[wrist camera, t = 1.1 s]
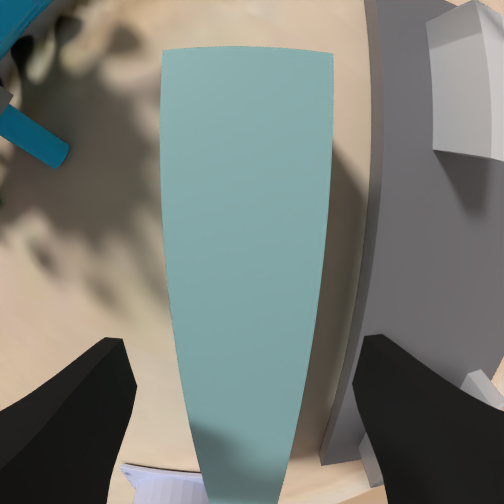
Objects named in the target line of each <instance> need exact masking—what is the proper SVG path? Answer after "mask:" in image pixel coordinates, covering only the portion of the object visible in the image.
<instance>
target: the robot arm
mask: <svg viewBox="0 0 504 504" xmlns="http://www.w3.org/2000/svg"><path fill="white" fill-rule="evenodd" d="M352 387H353V391H354V396H355V400H356V404H357V408H358V411H359V414H360V417H361V419H362V422H363V425H364V427H365V430H366V433H367V435H368V438H369V440H370V443H371V445H372V448H373V451H374V453H375V456H376V459H377V461H378V464H379V467H380V470H381V473H382V477H383V481H384V486H385V490H386V495H387V500H388V504H504V411H501V410H499V409H497V408H495V407H492V406H490V405H488V404H486V403H484V402H483V401H481V400H479V399H477V398H475V397H473V396H471V395H469V394H468V393H466V392H464V391H463V390H461V389H459V388H458V387H456V386H455V385H453V384H452V383H450V382H449V381H447V380H445V379H444V378H443V377H441V376H440V375H438V374H437V373H435V372H434V371H432V370H431V369H430V368H428V367H427V366H426V365H424V364H423V363H422V362H420V361H419V360H417V359H416V358H415V357H413V356H412V355H411V354H409V353H408V352H407V351H405V350H404V349H403V348H401V347H400V346H399V345H397V344H396V343H395V342H393V341H392V340H391V339H389V338H388V337H386V336H385V335H383V334H377V335H367V336H364V339H363V343H362V347H361V351H360V355H359V359H358V363H357V367H356V371H355V374H354V378H353V381H352ZM136 390H137V384H136V381H135V378H134V375H133V372H132V369H131V366H130V363H129V359H128V356H127V353H126V349H125V346H124V342H123V339H120V338H108V337H105V338H103V339H102V340H100V341H99V342H98V343H96V344H95V345H94V346H92V347H91V348H90V349H88V350H87V351H86V352H85V353H83V354H82V355H81V356H79V357H78V358H77V359H76V360H74V361H73V362H72V363H71V364H69V365H68V366H67V367H65V368H64V369H63V370H62V371H60V372H59V373H58V374H56V375H55V376H54V377H52V378H51V379H50V380H48V381H47V382H45V383H44V384H43V385H41V386H40V387H38V388H37V389H36V390H34V391H33V392H32V393H30V394H28V395H27V396H25V397H24V398H22V399H21V400H19V401H17V402H16V403H14V404H12V405H10V406H9V407H7V408H5V409H3V410H1V411H0V504H107V497H108V491H109V485H110V479H111V475H112V472H113V468H114V465H115V462H116V459H117V456H118V453H119V450H120V447H121V444H122V441H123V438H124V435H125V432H126V429H127V426H128V423H129V420H130V417H131V414H132V410H133V405H134V401H135V395H136ZM120 470H121V471H122V472H123V474H124V475H125V477H126V478H127V479H128V481H129V482H130V483H131V485H132V486H133V487H134V489H135V495H134V499H133V504H209V500H208V497H207V493H206V490H205V486H204V482H203V479H202V475H201V473H187V472H177V471H168V470H160V469H152V468H146V467H139V466H134V465H128V464H121V466H120Z"/></svg>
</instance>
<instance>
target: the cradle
mask: <svg viewBox="0 0 504 504" xmlns="http://www.w3.org/2000/svg"><path fill="white" fill-rule="evenodd" d="M364 4H365V12H366V21H367V31H368V42H369V56H370V74H371V163H370V182H369V197H368V209H367V220H366V230H365V240H364V248H363V256H362V264H361V271H360V278H359V285H358V291H357V297H356V303H355V309H354V315H353V320H352V325H351V331H350V336H349V341H348V345H347V350H346V355H345V359H344V364H343V368H342V372H341V376H340V381H339V385H338V389H337V393H336V396H335V400H334V404H333V408H332V411H331V415H330V418H329V422H328V425H327V429H326V432H325V435H324V439H323V442H322V445H321V448H320V451H319V457H320V462H321V466H324V465H330V464H337V463H343V462H348V461H354V460H359V459H362V461H363V464H364V468H365V471H366V474H367V477H368V480H369V484H370V487H371V488H373V487H377V486H381V485H384V481H383V477H382V473H381V470H380V467H379V464H378V461H377V459H376V456H375V453H374V451H373V448H372V445H371V443H370V440H369V438H368V435H367V433H366V430H365V427H364V425H363V422H362V419H361V417H360V414H359V411H358V408H357V404H356V400H355V396H354V391H353V387H352V381H353V378H354V374H355V371H356V367H357V363H358V359H359V355H360V351H361V347H362V343H363V339H364V336H367V335H377V334H383V335H385V336H386V337H388V338H389V339H391V340H392V341H393V342H395V343H396V344H397V345H399V346H400V347H401V348H403V349H404V350H405V351H407V352H408V353H409V354H411V355H412V356H413V357H415V358H416V359H417V360H419V361H420V362H422V363H423V364H424V365H426V366H427V367H428V368H430V369H431V370H432V371H434V372H435V373H437V374H438V375H440V376H441V377H443V378H444V379H445V380H447V381H449V382H450V383H452V384H453V385H455V386H456V387H458V388H459V389H461V390H463V391H464V392H466V393H468V394H469V395H471V396H473V397H475V398H477V399H479V400H481V401H483V402H484V403H486V404H488V405H490V406H492V407H495V408H497V409H499V410H501V409H502V408H503V406H504V397H503V396H502V395H501V394H500V392H499V391H498V390H497V388H496V387H495V386H494V385H493V383H492V382H491V380H492V378H493V376H494V374H495V372H496V370H497V368H498V367H499V365H500V363H501V360H502V358H503V356H504V16H502V15H501V14H499V13H498V12H496V11H494V10H493V9H491V8H490V7H488V6H486V5H485V4H483V3H481V2H479V1H478V0H471V1H469V2H467V3H464V4H462V5H460V6H456V5H454V4H452V3H449V2H447V1H445V0H364Z"/></svg>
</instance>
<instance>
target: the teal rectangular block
mask: <svg viewBox="0 0 504 504" xmlns="http://www.w3.org/2000/svg"><path fill="white" fill-rule="evenodd" d="M333 94H334V71H333V54H332V53H325V52H317V51H309V50H299V49H288V48H274V47H248V46H223V47H198V48H184V49H172V50H163V56H162V72H161V95H160V183H161V207H162V225H163V239H164V252H165V264H166V274H167V284H168V294H169V302H170V311H171V318H172V326H173V333H174V340H175V347H176V354H177V360H178V366H179V372H180V378H181V383H182V389H183V394H184V400H185V405H186V410H187V415H188V420H189V424H190V429H191V433H192V438H193V442H194V447H195V451H196V455H197V459H198V463H199V467H200V471H201V475H202V479H203V482H204V486H205V490H206V493H207V497H208V500H209V504H277V503H278V499H279V496H280V492H281V488H282V485H283V481H284V477H285V473H286V469H287V465H288V461H289V457H290V453H291V448H292V444H293V440H294V435H295V431H296V426H297V422H298V417H299V412H300V407H301V402H302V397H303V392H304V387H305V381H306V376H307V370H308V365H309V359H310V353H311V347H312V341H313V334H314V328H315V321H316V314H317V307H318V300H319V292H320V284H321V276H322V268H323V259H324V250H325V240H326V229H327V218H328V206H329V193H330V178H331V160H332V137H333Z"/></svg>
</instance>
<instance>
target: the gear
mask: <svg viewBox="0 0 504 504" xmlns="http://www.w3.org/2000/svg"><path fill="white" fill-rule="evenodd" d="M52 1H53V0H0V60H1V59H2V58H3V57H4V56H5V54H6V53H7V52H8V51H9V50H10V48H11V47H12V46H13V45H14V44H15V42H16V41H17V40H18V39H19V37H20V36H21V35H22V34H23V33H24V30H25V29H26V28H27V27H28V26H29V25H30V23H31V22H32V21H33V20H34V19H35V18H36V17H37V16H38V15H39V14H40V13H41V12H42V11H43V10H44V9H45V8H46V7H47V6H48V5H49V4H50V3H51V2H52ZM12 97H13V94H11V93H10V92H8V91H7V90H6V89H4V88H3V87H1V86H0V136H2V137H3V138H5V139H7V140H8V141H10V142H11V143H13V144H15V145H16V146H18V147H19V148H21V149H23V150H24V151H26V152H27V153H29V154H31V155H32V156H34V157H36V158H37V159H39V160H40V161H42V162H44V163H45V164H47V165H49V166H50V167H52V168H54V169H56V168H58V167H59V166H60V165H61V163H62V162H63V161H64V159H65V157H66V155H67V153H68V151H69V145H68V144H67V143H65V142H64V141H62V140H61V139H59V138H58V137H56V136H55V135H54V134H52V133H51V132H49V131H48V130H46V129H45V128H43V127H42V126H40V125H39V124H38V123H36V122H35V121H33V120H32V119H30V118H29V117H27V116H26V115H24V114H23V113H22V112H20V111H19V110H17V109H16V108H14V107H13V106H11V105H10V104H9V102H10V100H11V99H12ZM0 202H1V201H0Z"/></svg>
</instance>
